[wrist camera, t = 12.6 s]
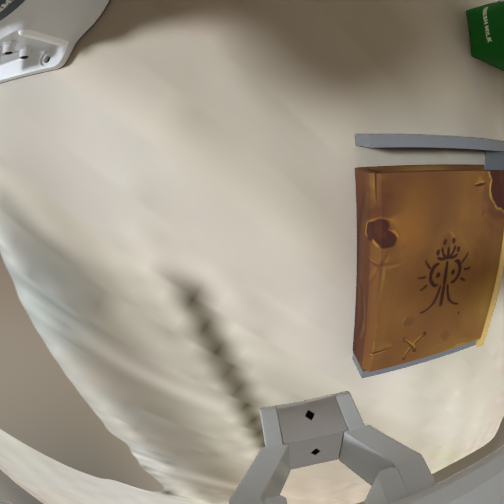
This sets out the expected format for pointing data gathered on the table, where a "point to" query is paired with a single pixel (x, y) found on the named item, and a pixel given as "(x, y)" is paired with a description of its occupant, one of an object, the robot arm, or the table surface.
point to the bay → (496, 158)
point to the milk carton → (487, 33)
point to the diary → (424, 259)
